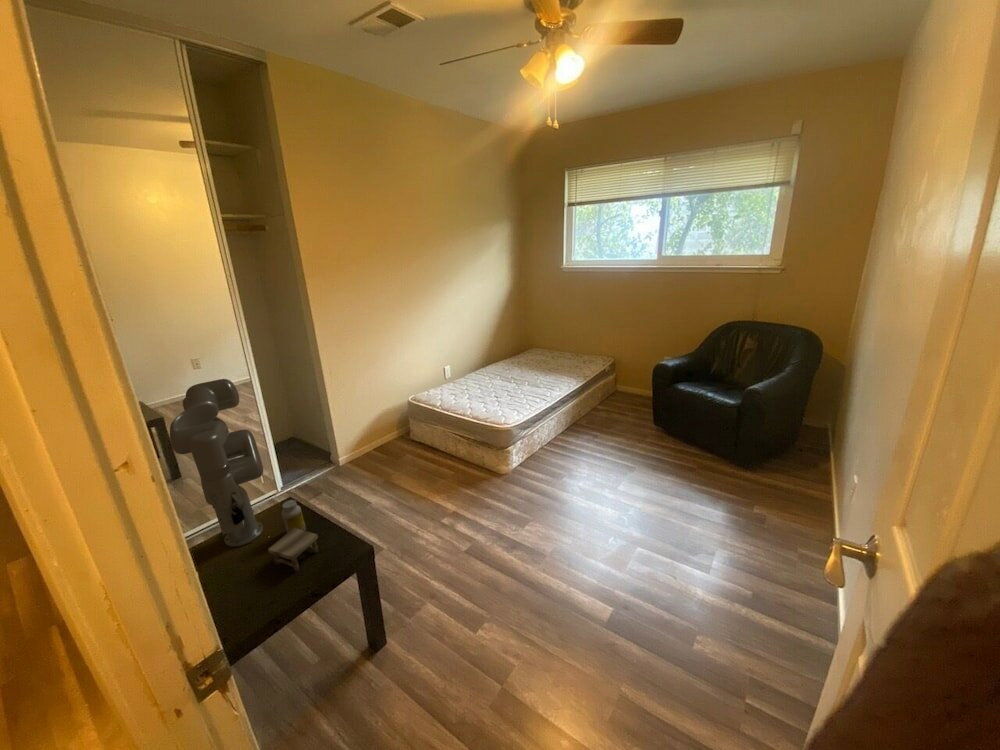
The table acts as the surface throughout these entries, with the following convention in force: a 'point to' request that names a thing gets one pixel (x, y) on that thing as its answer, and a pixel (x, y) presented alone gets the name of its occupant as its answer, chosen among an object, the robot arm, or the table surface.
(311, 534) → the stool
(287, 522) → the supplement bottle
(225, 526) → the skincare box
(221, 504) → the robot arm
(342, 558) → the table surface
